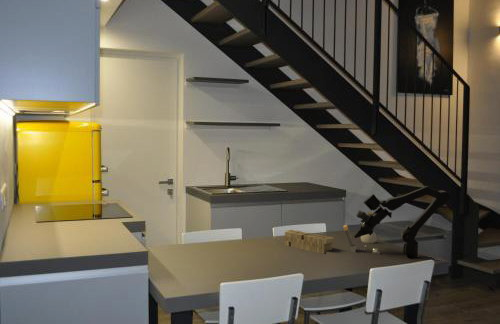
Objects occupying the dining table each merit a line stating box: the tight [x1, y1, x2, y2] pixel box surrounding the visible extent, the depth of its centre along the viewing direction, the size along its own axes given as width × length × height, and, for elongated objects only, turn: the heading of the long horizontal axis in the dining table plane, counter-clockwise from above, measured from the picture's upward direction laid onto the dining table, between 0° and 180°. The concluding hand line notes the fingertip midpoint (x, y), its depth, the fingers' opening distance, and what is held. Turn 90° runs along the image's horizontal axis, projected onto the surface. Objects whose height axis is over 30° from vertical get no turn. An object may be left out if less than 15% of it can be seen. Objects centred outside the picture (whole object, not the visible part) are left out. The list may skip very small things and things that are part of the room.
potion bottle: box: [360, 211, 378, 244], centre depth 292 cm, size 9×9×18 cm
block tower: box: [284, 229, 336, 254], centre depth 278 cm, size 8×8×29 cm
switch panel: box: [349, 243, 381, 256], centre depth 268 cm, size 20×13×4 cm, turn 80°
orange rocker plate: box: [343, 224, 356, 247], centre depth 269 cm, size 2×5×13 cm, turn 169°
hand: (354, 237), depth 269 cm, fingers closed
